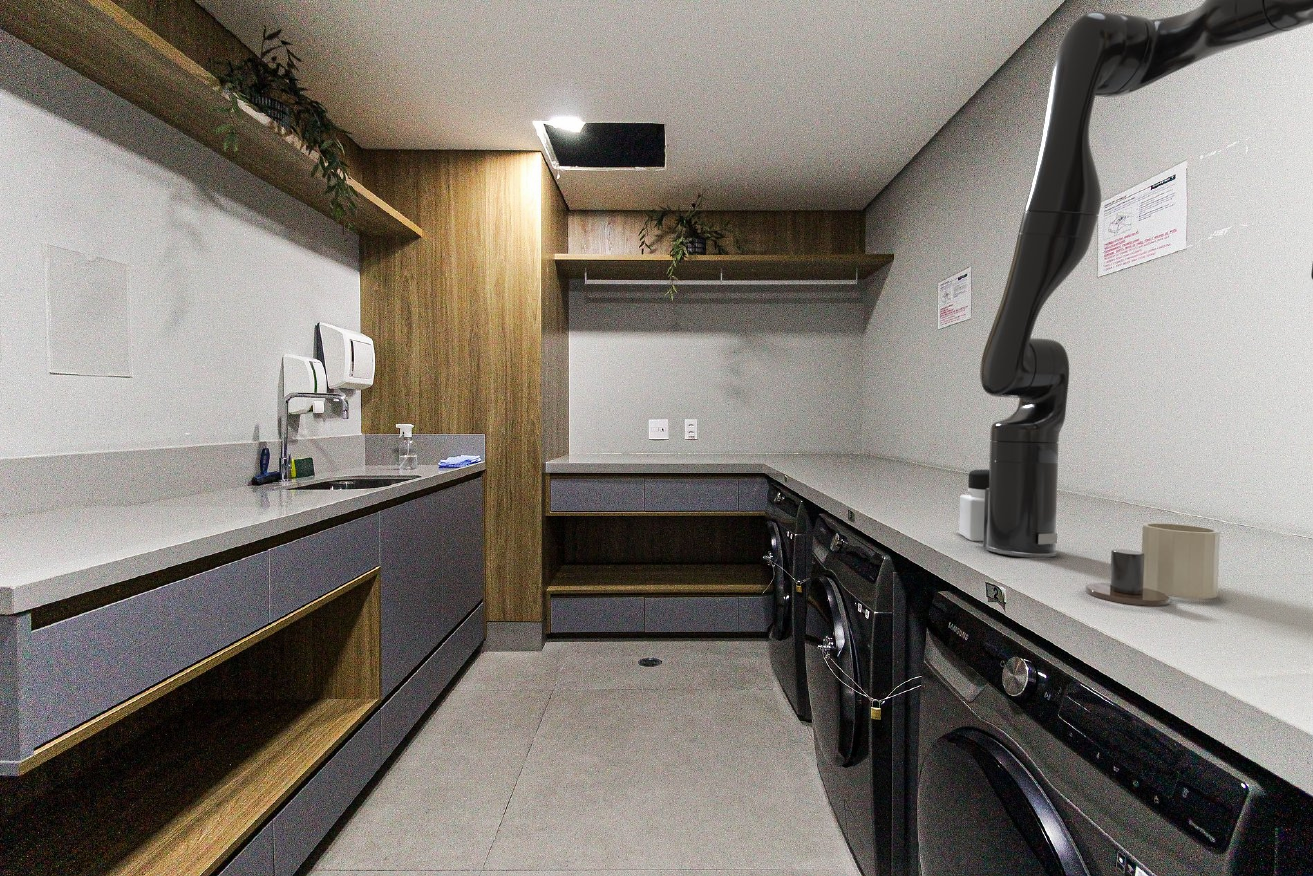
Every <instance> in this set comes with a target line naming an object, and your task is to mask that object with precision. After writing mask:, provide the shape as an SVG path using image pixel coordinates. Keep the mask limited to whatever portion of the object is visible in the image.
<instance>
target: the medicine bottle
mask: <svg viewBox="0 0 1313 876" xmlns="http://www.w3.org/2000/svg"><path fill="white" fill-rule="evenodd" d="M967 480H968V482H967V486H968V487H967V492H968V493H969V494H961V495H960V496H959V523H958V527H959V528H958V533H959V534H960V535H961V536H962V537H964V538H966V539H967V540H969V541H971V542H983V536H984V504H985V489H986V488H989V469H987V468H986V469H984V468H983V469H973V470H970V471H969V472H968V479H967Z"/></svg>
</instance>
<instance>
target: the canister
mask: <svg viewBox="0 0 1313 876" xmlns="http://www.w3.org/2000/svg"><path fill="white" fill-rule="evenodd" d="M1220 541H1221V532H1220V530H1218V529H1215V528H1211V527H1205V526H1200V525H1199V526H1198V525H1189V524H1180V523H1169V522H1168V523H1167V522H1146V523H1142V526H1141V549H1140V550H1141V551H1140V552H1142V553H1144V581H1143V588H1147V589H1151V590H1155V591H1158V592H1161V593H1164V594H1166V595H1167V596H1172V597H1180V598H1187V599H1202V600H1204V599H1206V600H1207V599H1215V598H1217V597H1218V590H1219V565H1220Z"/></svg>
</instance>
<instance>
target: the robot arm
mask: <svg viewBox="0 0 1313 876" xmlns="http://www.w3.org/2000/svg"><path fill="white" fill-rule="evenodd" d="M1311 24H1313V0H1204V1H1203V2H1202V4H1200V5H1199V6H1198V7H1196V8H1195V9H1194V8H1193V9H1192V10H1190V11H1188V12H1184V13H1181V14H1178V15H1177V14H1176V15H1173V16H1167V17H1162V18H1155V19H1153V18H1152V19H1149V18H1146V17H1144V16H1140V15H1134V14H1133V15H1132V14H1126V13H1125V14H1123V13H1117V12H1106V11H1089V12H1087V13H1084V14H1083V15H1081V16H1079V17H1078V18H1077V19H1076V20H1075V21H1074V22H1073V23H1072V24H1071V25H1070V26H1069V28H1068V29H1067V30H1066V32H1065V34H1064V36H1063V38H1062V39H1061V42H1060V44H1059V46H1058V49H1057V51H1056V54H1055V58H1054V62H1053V65H1052V69H1051V75H1050V81H1049V88H1048V94H1047V101H1046V106H1045V107H1046V108H1045V114H1044V120H1043V121H1044V122H1043V126H1042V127H1043V128H1042V134H1041V140H1040V145H1039V149H1038V153H1037V159H1036V163H1035V166H1034V167H1035V168H1034V172H1033V175H1032V180H1031V183H1030V188H1029V192H1028V195H1027V199H1026V203H1025V206H1024V209H1023V213H1022V217H1021V221H1020V224H1019V225H1020V226H1019V230H1018V233H1017V237H1016V243H1015V248H1014V253H1013V256H1012V261H1011V264H1010V268H1009V273H1008V276H1007V280H1006V283H1005V286H1004V290H1003V294H1002V298H1001V300H1000V303H999V306H998V308H997V311H996V314H995V317H994V321H993V323H992V326H991V328H990V331H989V335H988V336H987V337H988V338H987V341H986V343H985V345H984V349H983V352H982V355H981V360H980V367H979V380H980V384H981V387H982V388H983V390H984V392H985V393H986V394H987V395H989V396H992V397H995V398H1007V399H1008V398H1011V399H1012V398H1013V399H1018V405H1017V408H1016V410H1015V411H1014V412H1013V413H1012V414H1011V415H1009V416H1007V417H1006V418H1003V419H1001V420H999V421H995V422H994V423H992V424H991V427H990V431H989V432H990V433H989V458H988V459H989V462H988V463H989V464H988V465H989V466H988V470H989V488H986V489H985V504H984V536H983V541H982V547H984V548H985V549H986V550H987V551H988V552H992V553H995V554H999V555H1003V556H1010V557H1017V558H1028V559H1048V558H1049V559H1050V558H1055V557H1056V555H1057V551H1056V544H1058V532H1057V511H1058V510H1057V509H1058V507H1057V505H1058V475H1059V447H1060V445H1059V443H1060V433H1061V431H1062V428H1063V426H1064V423H1065V421H1066V415H1067V402H1068V395H1069V393H1068V392H1069V385H1070V384H1069V383H1070V360H1069V356H1068V353H1067V350H1066V348H1065V347H1064V346H1063V344H1062V343H1061V342H1059V341H1057V340H1055V339H1051V338H1040V337H1039V338H1038V337H1033V338H1032V334H1033V331H1034V328H1035V325H1036V322H1037V320H1038V317H1039V315H1040V313H1041V311H1042V309H1043V307H1044V306H1045V304H1046V303H1047V301H1048V300H1049V299H1050V297H1051V296H1052V295H1053V294H1054V292H1055V291H1056V290H1057V289H1059V287H1060V286H1061V285H1062V284H1063V282H1064V281H1065V280H1066V279H1067V278H1068V277H1069V276H1070V275H1071V274H1072V273H1073V271H1074V270H1075V269H1076V268H1077V267H1078V265H1079V264H1080V263H1081V262H1082V261H1083V259H1084V257H1085V256H1086V254H1087V253H1088V251H1089V249H1090V246H1091V243H1092V240H1093V237H1094V233H1095V229H1096V226H1097V223H1098V219H1099V215H1100V211H1101V207H1102V200H1103V199H1102V197H1103V196H1102V188H1101V183H1100V179H1099V174H1098V171H1097V166H1096V163H1095V160H1094V157H1093V153H1092V148H1091V142H1090V125H1091V119H1092V113H1093V107H1094V105H1095V104H1094V102H1095V98H1096V97H1099V98H1119V97H1123V96H1127V95H1130V94H1132V93H1134V92H1137V91H1139V90H1141V89H1143V88H1145V87H1147V86H1149V85H1151V84H1154V83H1155V82H1158V81H1159V80H1162V79H1164V78H1165V77H1167V76H1170V75H1172V74H1174V73H1176V72H1178V71H1181V70H1183V69H1185V68H1187V67H1189V66H1192V65H1193V64H1196V63H1198V62H1201V61H1202V60H1205V59H1208V58H1211V57H1212V56H1215V55H1218V54H1221V53H1224V52H1227V51H1229V50H1232V49H1236V48H1238V47H1242V46H1245V45H1248V44H1251V43H1254V42H1258V41H1261V40H1264V39H1269V38H1271V37H1275V36H1277V35H1278V36H1279V35H1281V34H1284V33H1288V32H1291V31H1294V30H1297V29H1300V28H1303V27H1306V26H1309V25H1311ZM1311 279H1312V280H1313V262H1312V264H1311Z"/></svg>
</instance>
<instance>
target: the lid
mask: <svg viewBox="0 0 1313 876" xmlns="http://www.w3.org/2000/svg"><path fill="white" fill-rule="evenodd" d="M1110 553H1111V554H1110V576H1109V577H1110V579H1109V582H1092V583H1087V584H1085V592H1086V593H1087V594H1088V595H1090V596H1092V597H1095V598H1099V599H1100V600H1101V599H1102V600H1104V601H1105V600H1106V601H1109V602H1113V603H1120V604H1126V605H1132V606H1141V607H1143V606H1144V607H1161V606H1167V605H1169V604H1170V595H1167V594H1164V593H1161V592H1158V591H1155V590H1151V589H1147V588H1143V581H1144V553H1142V552H1141V551H1138V550H1132V549H1126V548H1125V549H1122V548H1114V549H1111V552H1110Z"/></svg>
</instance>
